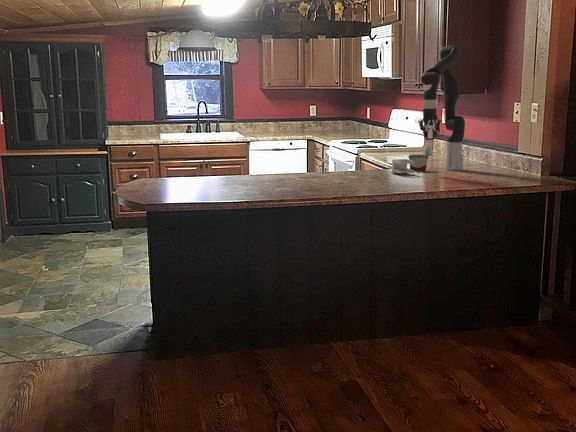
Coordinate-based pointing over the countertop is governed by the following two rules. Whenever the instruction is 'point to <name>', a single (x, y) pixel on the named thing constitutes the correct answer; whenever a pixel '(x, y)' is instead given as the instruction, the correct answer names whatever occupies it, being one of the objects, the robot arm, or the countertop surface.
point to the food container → (418, 162)
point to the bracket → (401, 166)
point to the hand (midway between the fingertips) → (429, 137)
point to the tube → (429, 142)
